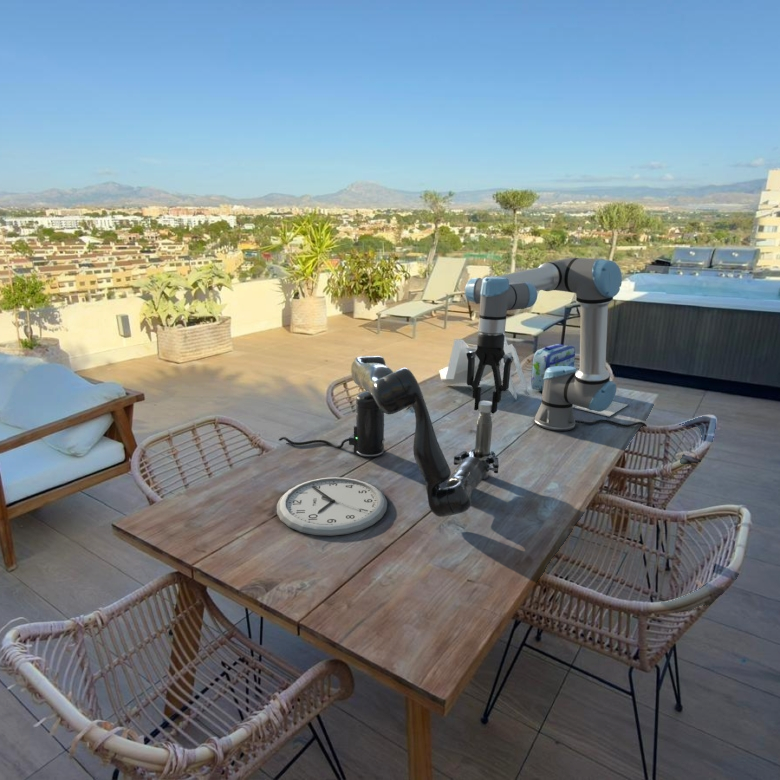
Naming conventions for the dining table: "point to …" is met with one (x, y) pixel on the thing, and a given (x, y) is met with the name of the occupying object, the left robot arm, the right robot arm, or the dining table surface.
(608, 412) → the invitation card
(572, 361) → the lunch box
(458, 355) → the white plastic object
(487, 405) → the cap
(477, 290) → the right robot arm
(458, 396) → the dining table surface
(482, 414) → the bottle
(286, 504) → the wall clock
